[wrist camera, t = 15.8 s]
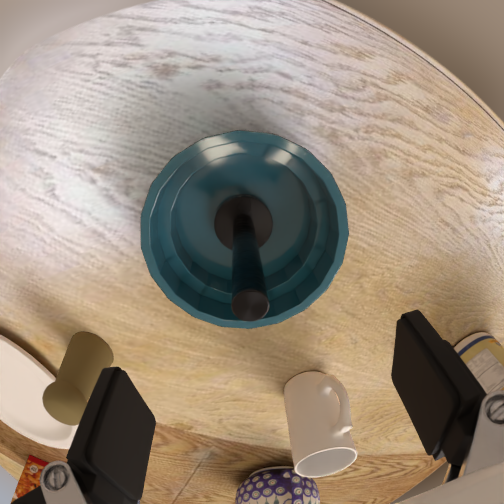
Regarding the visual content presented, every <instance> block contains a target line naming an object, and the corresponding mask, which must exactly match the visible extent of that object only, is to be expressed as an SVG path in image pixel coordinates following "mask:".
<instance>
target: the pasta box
mask: <svg viewBox="0 0 504 504" xmlns="http://www.w3.org/2000/svg"><path fill="white" fill-rule="evenodd" d="M48 464H49V463H48V462H45V461H43V460H41V459H38V458H36V457H34V456H32V455H29V458H28V460H27V462H26V465H25V467H24V470H23V472H22V475H21V477H20V480H19V482H18V485H17V487H16V490H15V493H14V496H13V498H12V502H13V501H14V500H16V499H17V498H19V497H21V496H23V495H25V494H26V493H28V492H30V491H31V490H33V489H35V488H37V487H38V486H40V474H41V472H42V470H43V469H44V467H45V466H46V465H48ZM12 502H11V503H12ZM139 502H140V501H139V500H138V503H137V504H139Z"/></svg>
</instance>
